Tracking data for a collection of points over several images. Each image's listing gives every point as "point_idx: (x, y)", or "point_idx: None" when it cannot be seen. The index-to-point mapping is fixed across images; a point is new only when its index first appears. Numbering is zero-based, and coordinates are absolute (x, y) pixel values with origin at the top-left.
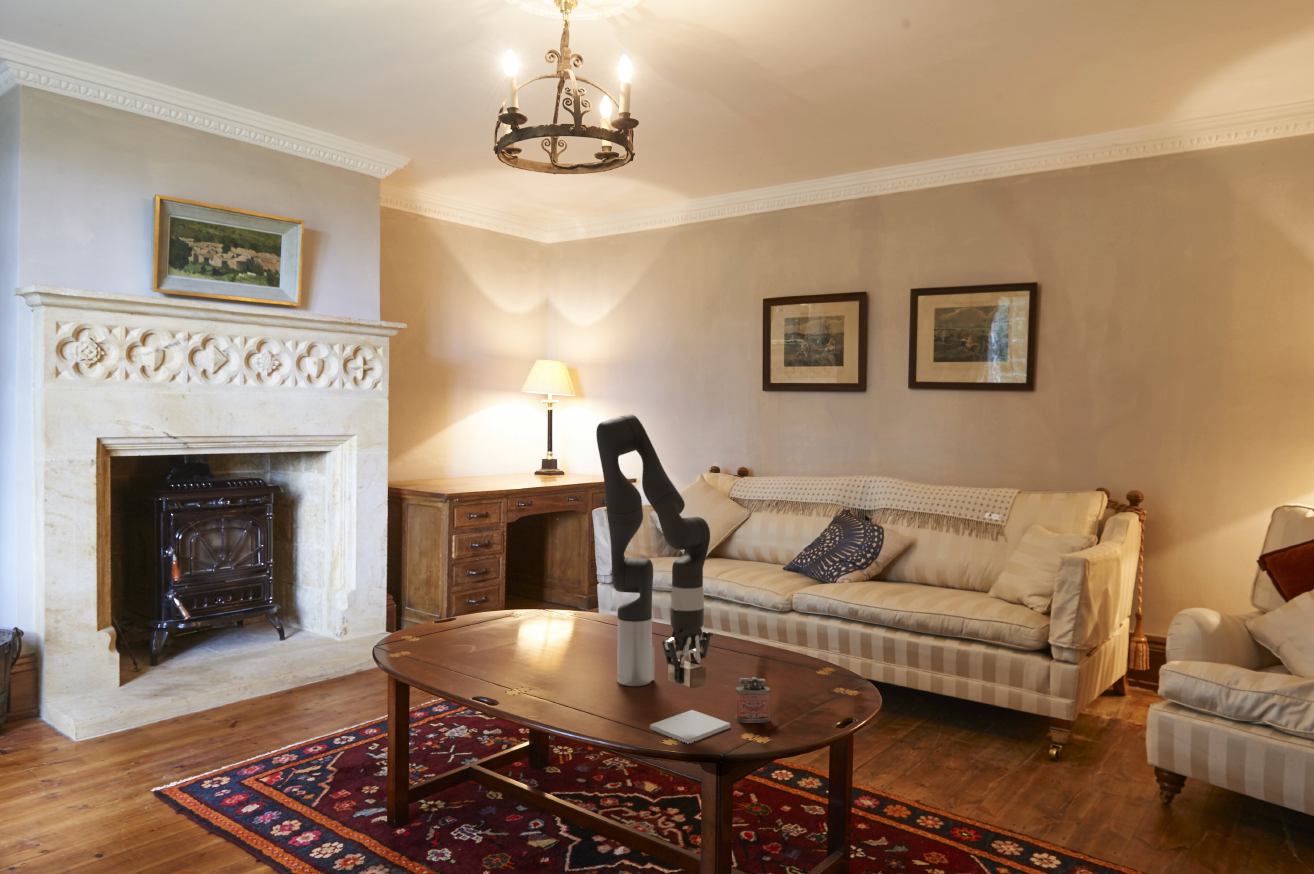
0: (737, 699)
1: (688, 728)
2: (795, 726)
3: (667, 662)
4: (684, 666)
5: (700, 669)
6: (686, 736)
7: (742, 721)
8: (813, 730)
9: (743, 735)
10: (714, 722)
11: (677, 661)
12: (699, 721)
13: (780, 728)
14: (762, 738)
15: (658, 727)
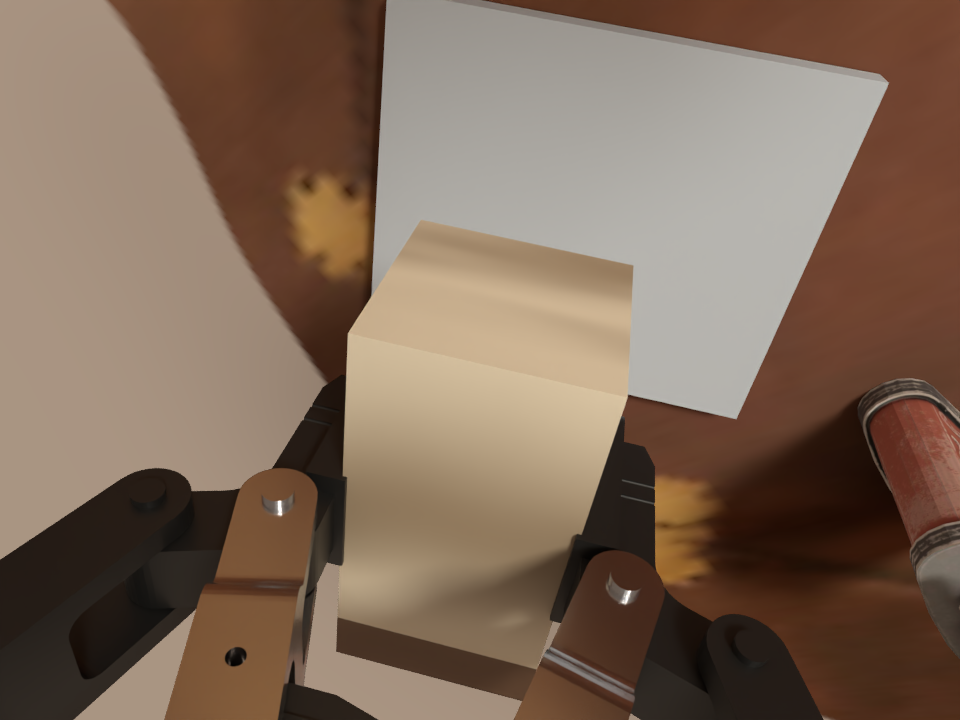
0: (911, 496)
1: None
2: (917, 630)
3: (120, 484)
4: (379, 547)
5: (442, 668)
6: None
7: (862, 428)
8: (894, 687)
9: (659, 487)
10: (697, 342)
11: (168, 618)
12: (662, 258)
13: (853, 588)
14: (672, 558)
15: (391, 81)
